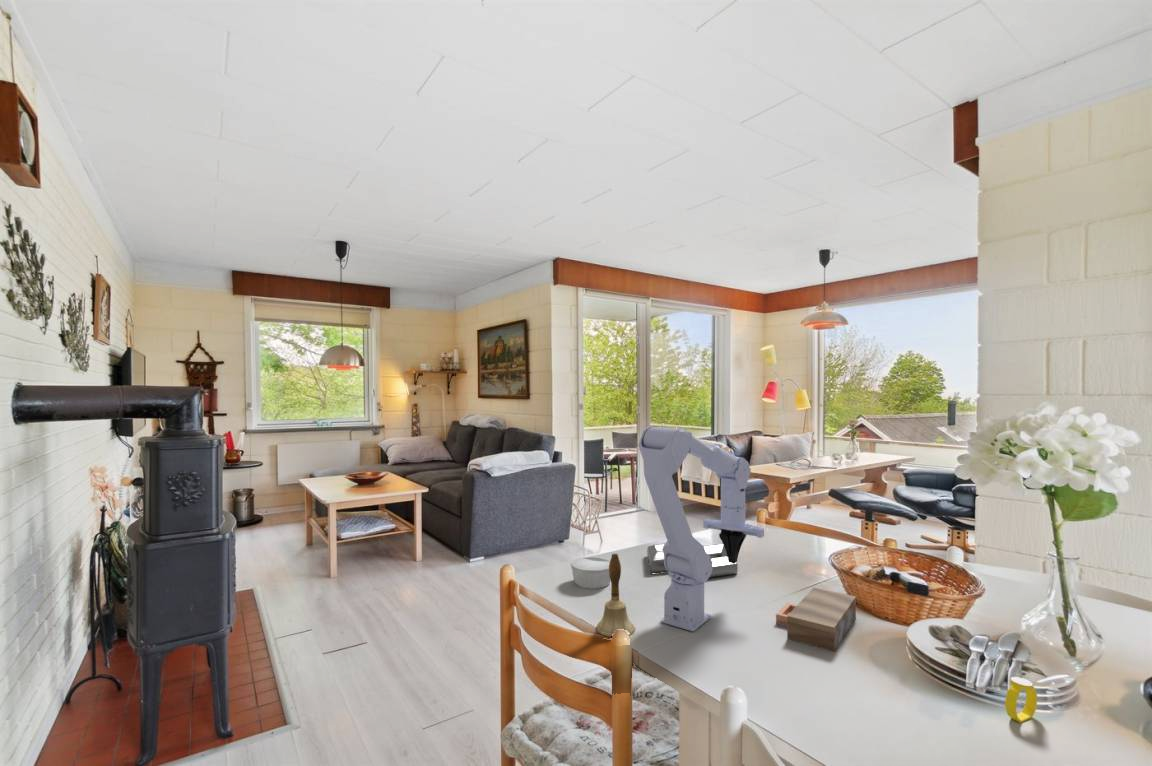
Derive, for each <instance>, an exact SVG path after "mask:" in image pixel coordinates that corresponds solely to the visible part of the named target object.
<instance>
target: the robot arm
mask: <svg viewBox="0 0 1152 766" xmlns="http://www.w3.org/2000/svg"><path fill="white" fill-rule="evenodd" d="M639 438H640V439H639V442H638V443H637V444H638V445H637V447H638V448H639V449H638V450H639V452H640V455H641V457H642V459H643V461H642V462H643V475H644V478H645V482H646V485H647V487H648V490H649V493H650V496H651V499H652V501H653V504H654V507H655V510H656V512H657V516H658V518H659V521H660V523H661V526H662V530H663V533H664V534H665V538H666V541H665V543H663V544H664V546H663V548H662V551H663V554H664V566H665V568H666V570H667V571H669V572H668V577H670V578H671V582H670V585H669V586H668V588H667V589H666V590H665V592H664V599H663V600H664V601H663V602H664V603H663V605H664V606H663V609H664V611H663V612H664V614H663V615H664V616H663V617H662V618H660V622H661V623H663V624H666V625H670V626H673V627H677V628H679V629H680V628H681V629H683V630H687V631H689V630H690V632H695V631H696V630H698V628H700V627H701V626H702V625H703V624H705V623H706V622H707V621H708V620H709V619H711V618H712V615H711V614H709V613H706V612H705V583H706V582H707V581H708V580H709V579H710V578H711V577H710V575H711V573H712V569H713V564H712V559H711V557H710V556H709V555H708V554H707V553H706V551H705V548H704V546H705V545H703V544H701V543H700V542H699V541H698V540H697V539H696V538H695V537H694V536H693V533H692V531H691V528H690V524H689V522H688V519H687V517H686V514H685V511H684V507H683V504H682V502H681V499H680V496H679V494H678V490H677V487H676V484H675V481H674V479H673V475H674V474H675V473H678V471H679V470H680V468H681V467H682V465H683V463H684V461H685V459H686V457H687V456H688V454H690V455H692V456H694V457H695V458H698V459H700V463H701V464H702V466H703V467H704V468H706V469H708V470H710V471H711V472H714V473H715V474H716V476H717V478H718V479H720V519H712V518H706V519H704V520H703V521H702V523H703V529H712V530H718V531H720V533H718V535H719V539H720V540H721V542H722V543H721V544H723V545H724V547H725V550H726V553H727V557H728V561H729V563H733V564H734V563H736V562H737V563H738V559H739V554H740V550H741V548H742V545H743V544H744V541H745V539H746V537H747V536H751V537H756V538H758V539H759V538H760V539H762V538H764V537H765V528H764V527H761V526H755V525H752V524H748V523H746V489H747V488H748V486H749V485H748V483H749V478H750V476H751V471H752V470H751V466H750V464H749V461H748V460H746V458H745V457H741V456H740V457H739V456H736V455H734V452H732V451H727V450H726V449H724V448H723V444H720V443H714V444H709V445H707V444H706V443H705V442H703V441H702V440H700V439H698V437H695V435H693V433H692V432H691V431H688V430H686V429H685V428H668V427H657V426H653V425H650V426H647V427H645V428H644V430H643V431H642V433H641V436H640V437H639ZM709 577H710V578H709Z"/></svg>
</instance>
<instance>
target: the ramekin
mask: <svg viewBox="0 0 1152 766" xmlns="http://www.w3.org/2000/svg"><path fill="white" fill-rule="evenodd" d="M610 560H611V559H610ZM610 560H609V559H606V558H604V557H603V558H602V557H598V556H597V557H596V556H588V557H587V556H586V557H579V558H576V559H573V560H572V562H571V564H570V568H571V571H572V577H573V582H574V584H575V585H576V586H578V587H580V588H582V589H586V590H587V589H588V590H597V589H602V588H606V587H607V586H609V585H610V583H611V579H610V575H609V564H610Z"/></svg>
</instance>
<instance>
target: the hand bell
mask: <svg viewBox="0 0 1152 766" xmlns="http://www.w3.org/2000/svg"><path fill="white" fill-rule="evenodd" d="M609 575H610V579H611V581H610V583H611V588H610V589H611V590H610V591H611V593H610V596H611V597H610V598H611V599H610V600H608V601H607V602H605V604H604V609H603V610H604V611H603V616H602V618H601V620H600V621H599V622H598V623H597V624H596V627H595V630H596V631H597V633H599V634H600V635H602V636H605V637H609V638H612V637H611V636H612V634H613V633H614V631H616V630H617V629H624V630H627V631H628V632H629V633H630V634H631V635H632V634H634V632H635V630H636V627H635V625H634V623H633V622H632V621H631V620H630V618H629V615H628V613H627V606H626V603H625V602H624V601H622V600H620V586H619V584H620V579H621V575H622V565H621V561H620V558H619V554H618V553H612V554H611V558H610V564H609Z"/></svg>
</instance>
